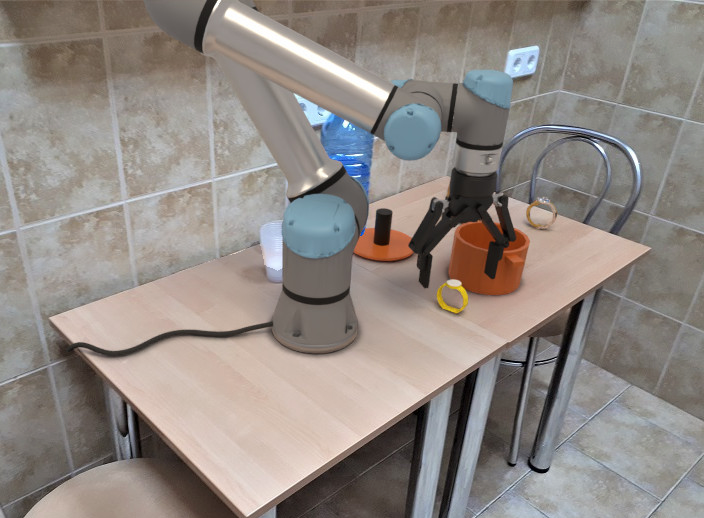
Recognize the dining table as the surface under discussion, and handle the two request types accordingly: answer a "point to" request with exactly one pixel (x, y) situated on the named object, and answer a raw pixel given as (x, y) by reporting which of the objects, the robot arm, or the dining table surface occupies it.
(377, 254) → the lid
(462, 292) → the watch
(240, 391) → the dining table surface
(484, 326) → the dining table surface
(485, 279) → the pot
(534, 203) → the ring
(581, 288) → the dining table surface
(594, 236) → the dining table surface
